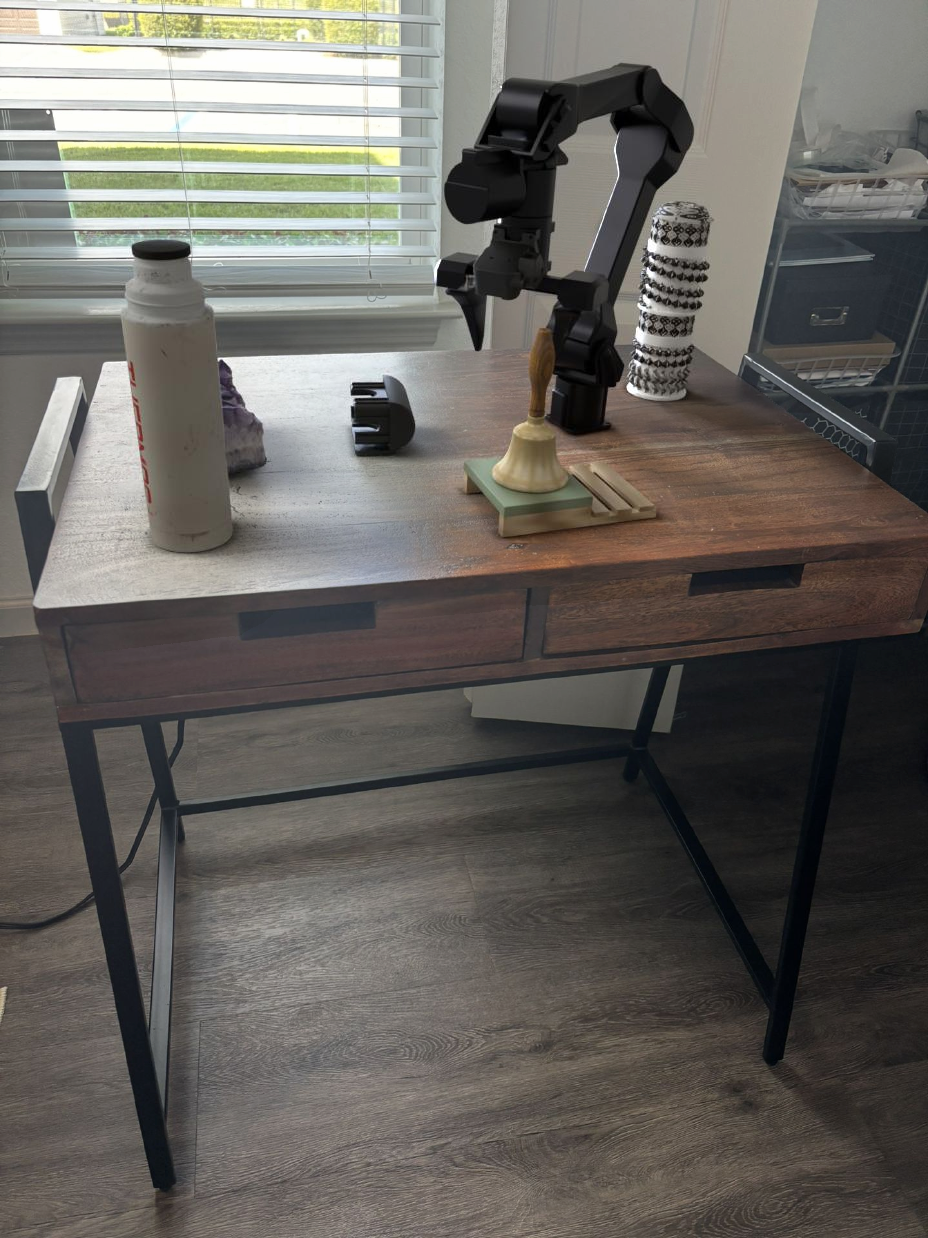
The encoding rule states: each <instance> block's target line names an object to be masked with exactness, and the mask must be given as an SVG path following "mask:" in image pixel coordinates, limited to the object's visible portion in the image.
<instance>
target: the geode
mask: <svg viewBox="0 0 928 1238" xmlns="http://www.w3.org/2000/svg"><path fill="white" fill-rule="evenodd" d="M218 367H219V378H220V390H221V401H222V412H223V424H224V440H225V457H226V465H227V472H228V475H230V474H235V473H240V472H243V471H250V470H251V471H253V470H256V469H260V468H262V467H265V465H267V462H268V458H267V456H266V452H265V445H264V442H263V441H264V440H263V436H264V433H265V431H264V427H263V425H264V424H263V422H262V421H261V420H260V419H259V418H258V417H257V416H256V415H255V413H254V412H253V411H252V412H251V411H249V410H248V409H247V408H246V402H245V400H244V398H243V396H242V394H241V393H240V392H239V391H238V390H237V387H236V386H235V385H234V381H233V379H234V377H233V370H232V369H231V367H230V366H229V365H228V363H226V362H225V361H224V360H223V358H221V359H219V360H218Z"/></svg>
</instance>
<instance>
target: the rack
mask: <svg viewBox="0 0 928 1238" xmlns="http://www.w3.org/2000/svg"><path fill="white" fill-rule="evenodd" d="M504 457H505V456H498V457H489V458H488V457H487V458H480V459H479V458H477V459H469V460H464V461H463V475H462V478H463V479H462V490H463V491H464V493H465V494H469V495H470V494H476V493H482V494H483V495H484V496H485V498H486V499H488V501H489V502H490V503H491V504H492V505H493V506H494V508H495V509H496V510H497V511H498V513H499V516H498V517H499V519H498V530H497V531H498V534H499V535H500V536H501V538H509V537H516V536H524V535H532V534H540V533H546V532H547V533H548V532H554V531H561V530H569V529H577V528H585V527H593V526H600V525H606V524H607V525H608V524H615V523H621V522H630V521H637V520H638V521H639V520H645V519H653V518H656V517H657V512H658V509H656V507H655V504H653V503H652V502H651V501H650V500H649V499H648V498H646V496H645V495H644V494H642V493H641V492H640V491H639V490H638V489H637V488H635V487H634V486H633V485H632V484H631V483H630V482H629V481H627V480H626V479H625V478H624V477H623V476H621V474H619V473H618V472H617V471H616V470H614V469H613V468H612V467H611V466H610V465H609V464H608V463H606V461H600V462H591V463H590V467H587V466H586V465H585V464H584V463H582V464H581V463H580V464H573V465H569V469H568V470H567V469H566V468H564V467H563V468H564V469H565V470H566V472H567V474H568V478H569V480H568V483H567V485H566V486H564V487H563V488H561V489H558V490H556V491H552V492H546V493H528V492H520V491H515V490H512V489H509V488H506V487H504V486H502V485H500V484H499V483H497V482H496V481H495V480H494V479H493V477H492V470H493V468H494V467H495V465H496V464H497V463H498V462H500V461H501V460H502V459H503V458H504ZM579 481H580V482H579ZM581 483H582V484H583V485H582V484H581ZM607 484H608V485H607ZM584 485H585V486H584ZM610 487H611V488H610ZM587 488H588V489H587ZM589 490H590V491H591V492H592V493H593V494H594V495H593V494H592V493H591V492H590V491H589ZM616 492H617V493H616ZM619 495H620V496H621V497H622V498H623V499H622V498H621V497H620V496H619ZM596 497H597V498H598V499H597V498H596ZM599 499H600V501H601V502H600V501H599ZM626 501H627V502H628V503H627V502H626ZM603 503H604V504H603ZM629 504H630V505H631V506H632V507H631V506H630V505H629ZM605 505H606V506H607V507H608V508H609V509H610V510H609V509H608V508H607V507H606V506H605Z"/></svg>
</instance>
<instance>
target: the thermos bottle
mask: <svg viewBox="0 0 928 1238" xmlns="http://www.w3.org/2000/svg"><path fill="white" fill-rule="evenodd" d="M130 248H131V253H132V256H133V261H132V267H133V277H132V278H131V279H129V281H127V282H126V283H125V293H124V298H125V299H126V303H127V305H125V306H123V308H122V309H121V310H120V320H121V327H122V334H123V341H124V350H125V357H126V363H127V371H128V379H129V386H130V392H131V394H130V395H131V401H132V408H133V415H134V422H135V430H136V436H137V445H138V452H139V459H140V465H141V473H142V480H143V488H144V494H145V503H146V510H147V516H148V524H149V531H150V532H149V533H150V537H151V540H152V542H153V543H154V544H155V545H156V547H157V546H158V547H159V548H161V549H163V550H167V551H169V552H176V553H198V552H205V551H209V550H212V549H215V548H218V547H221V546H222V545H224V544H225V543H227V542H228V541H229V540H230V539H231V538H232V535H233V532H234V529H233V528H234V527H233V517H232V504H231V494H230V482H229V474H228V472H227V465H226V457H225V440H224V424H223V412H222V401H221V390H220V378H219V367H218V362H219V357H218V343H217V334H216V324H215V323H216V322H215V321H216V320H215V312H214V308H213V306H211V305H210V304H208V303H206V301H205V300H206V298H207V294H206V293H205V288H204V284H203V282H202V281H201V280H200V279H198V278H197V277H195V276H193V271H192V269H193V268H192V261H191V260H190V258H189V256H190V255H191V254H192V248H191V245H190V243H188V242H186V241H182V240H177V239H168V238H167V239H164V238H162V239H161V238H160V239H157V238H156V239H145V240H141V241H137V242H134V243H132V244H131V247H130Z"/></svg>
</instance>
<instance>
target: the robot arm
mask: <svg viewBox="0 0 928 1238" xmlns="http://www.w3.org/2000/svg"><path fill="white" fill-rule="evenodd" d="M500 89H501V90H500V91H499V92H498V94H497V95H496V97H495V99H494V101H493V103H492V106H491V108H490V109H489V112H488V114H487V116H486V118H485V121H484V122H483V125H482V127H481V128H480V129H481V130H480V132H479V134H478V136H477V138H476V140H475V142H474V144H473V147H465V148H462V150H461V159H460V160H461V161H460V162H458V163H457V164H455V165H454V166H453V168H451V169H450V171H449V173H448V174H447V178H446V181H445V182H444V186H443V195H444V202H445V205H446V208H447V210H448V212H449V213H450V215H451V216H452V217H453V219H455V220H456V221H457V222H459V223H461V224H463V225H474V224H479V223H484V222H490V221H495V220H498V222H497V223H496V222H495V223H494V224H493V229H492V234H491V239H490V242H489V245H488V246H486V247H485V248H484V250H483V251H482V252H481V253H480V255H479V254H473V253H467V252H459V251H457V252H453V253H452V254H450V255H447V256H445V257H442V258H441V259H439V261H438V262H437V263H436V266H435V268H434V276H433V277H434V279H433V280H434V281H433V285H434V286H436V287H440V288H445V289H444V293H445V295H446V296H451V297H452V298H453V299H454V300H455V301H456V303H458V305H459V306H460V309H461V311H462V313H463V316H464V318H465V322H466V324H467V328H468V332H469V335H470V339H471V342H472V345H473V348H474V351H475V352H480V351H482V350H483V349H482V348H483V344H484V339H485V331H486V330H485V329H486V313H487V302H488V301H487V300H488V297H495V298H500V299H501V300H503V301H514V300H516V299H517V298H519V296H520V294H521V292H522V290H523V291H529V292H534V293H540V294H547V295H554V296H556V299H557V301H556V302H555V304H554V305H553V306H552V310H551V315H550V317H549V320H548V322H547V324H546V326H545V328H548V329H551V334H552V340H553V345H554V350H555V363H554V369H553V373H552V376H553V375H554V376H555V385H554V388H553V389H552V391H551V402H550V410H549V413H545V415H544V420H546V421H549V422H550V423H552V424H554V425H555V426H557V427H559V428H560V429H562V430H563V431H565V432H566V433H568V434H570V435H578V434H584V433H588V432H589V433H590V432H594V431H598V430H604V429H610V428H612V426H613V425H612V424H613V423H612V422H611V421H608V420H607V419H606V410H607V402H608V394H609V388H616V387H617V383H620V382H621V380H622V376H623V373H624V369H625V363H624V361H623V359H622V357H621V356H620V354H619V353H618V350H617V349H616V347H615V344H616V340H617V336H618V331H619V330H618V326H617V318H616V314H615V313H616V312H615V304H616V301H617V299H618V296H619V293H620V290H621V287H622V286H623V282H624V280H625V278H626V274H627V272H628V268H629V266H630V264H631V261H632V259H633V255H634V253H635V250H636V248H637V245H638V242H639V239H640V236H641V234H642V231H643V228H644V226H645V223H646V220H647V218H648V215H649V212H650V210H651V207H652V204H653V201H654V199H655V196H656V193H657V191H658V190H659V189H660V188H661V187H662V186H664V184H666V183H667V182H668V181H669V180H670V179H671V178H673V176H675V175H676V174H677V173H678V172H679V169H680V167H681V165H682V163H683V161H684V159H685V156H686V155H687V152H688V151H689V150H690V149H691V147H692V144H693V141H694V138H695V137H694V136H695V125H694V122H693V120H692V118H691V115H690V113H689V110H688V108H687V105H686V103H685V102H684V100H683V99H682V98H680V97H679V96H678V95H677V93H675V92H674V91H673V90H672V89H671V88H670V87H669V86H667V85H666V84H665V83H664V82H663V79H662V77H661V75H660V72H659V71H658V70H657V68H654V67H653V66H652V65H650V64H639V63H638V64H637V63H627V62H619V63H618V64H614V65H613V66H611V67H608V68H604V69H600V70H596V71H593V72H589V73H585V74H581V75H577V76H576V75H575V76H573V77H569V78H565V79H561V80H547V79H539V78H537V79H536V78H526V77H525V78H523V77H510V78H508V79H506V80H504V82H503V83H501V86H500ZM607 115H610V116H609V124H610V126H611V127H612V129H613V130H614V133H615V135H616V137H617V138H616V142H615V144H614V145H615V146H614V155H615V161H616V167H617V174H618V175H617V179H616V182H615V184H614V186H613V190H612V193H611V195H610V199H609V200H608V203H607V206H606V210H605V212H604V215H603V218H602V220H601V223H600V226H599V229H598V231H597V234H596V237H595V240H594V243H593V245H592V248H591V250H590V253H589V256H588V259H587V262H586V264H585V267H584V270H578V269H575V270H573V271H571V272H569V273H568V274H566V275H565V276H563V277H562V276H555V275H549V274H548V273H549V272H551V271H552V264H553V263H552V261H553V260H549V259H550V247H551V237H552V234H553V233H555V231H556V230H555V229H556V221H553V217H554V216H553V214H554V205H555V204H554V203H555V191H556V180H557V170H558V167H562V166H566V165H568V163H569V157H568V155H567V154H566V153H565V152H564V151H563V150H562V149H561V147H560V144H562V143H563V142H565V141H566V140H568V139H569V138H571V137H573V136H574V135H575V134H576V133H577V131H578V127H579V125H580V124H581V123H584V122H586V121H589V120H593V119H596V118H600V117H603V116H607Z"/></svg>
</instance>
